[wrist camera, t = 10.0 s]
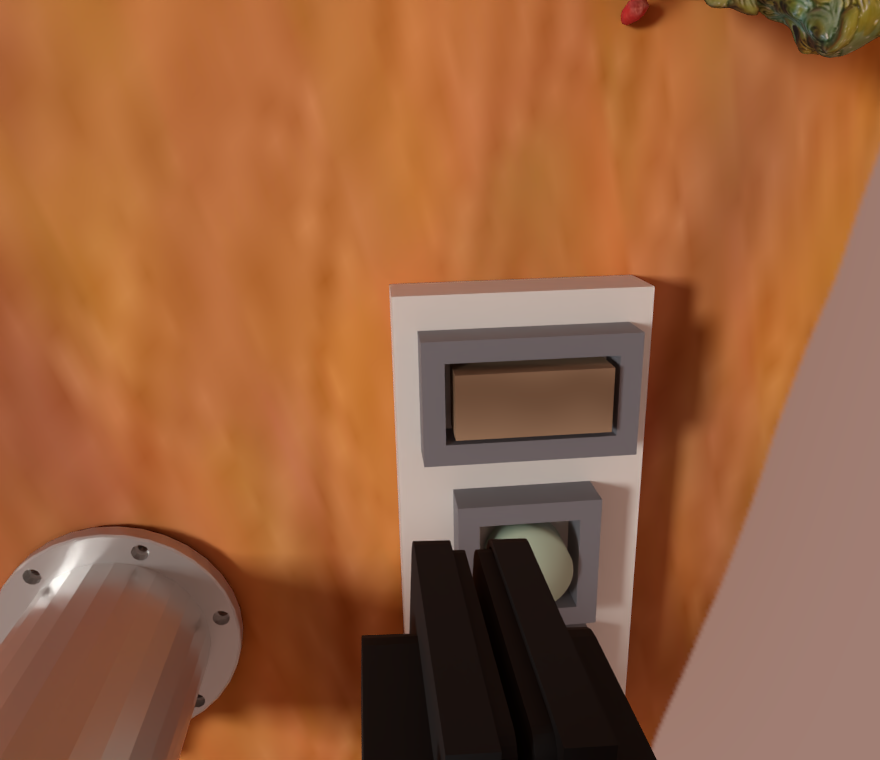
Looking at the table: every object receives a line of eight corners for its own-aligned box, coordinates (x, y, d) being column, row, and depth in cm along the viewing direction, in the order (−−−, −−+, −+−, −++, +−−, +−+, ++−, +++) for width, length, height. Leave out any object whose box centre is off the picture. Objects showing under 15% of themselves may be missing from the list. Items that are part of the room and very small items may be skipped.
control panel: (605, 701, 44) (634, 768, 40) (407, 719, 43) (412, 790, 39) (632, 274, 36) (672, 295, 32) (389, 284, 35) (393, 306, 31)
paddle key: (598, 415, 35) (611, 432, 33) (450, 424, 34) (456, 440, 32) (601, 354, 34) (615, 367, 32) (449, 362, 33) (455, 375, 31)
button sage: (561, 583, 37) (571, 606, 35) (483, 588, 37) (489, 613, 35) (563, 513, 36) (574, 533, 34) (483, 518, 36) (489, 539, 34)
